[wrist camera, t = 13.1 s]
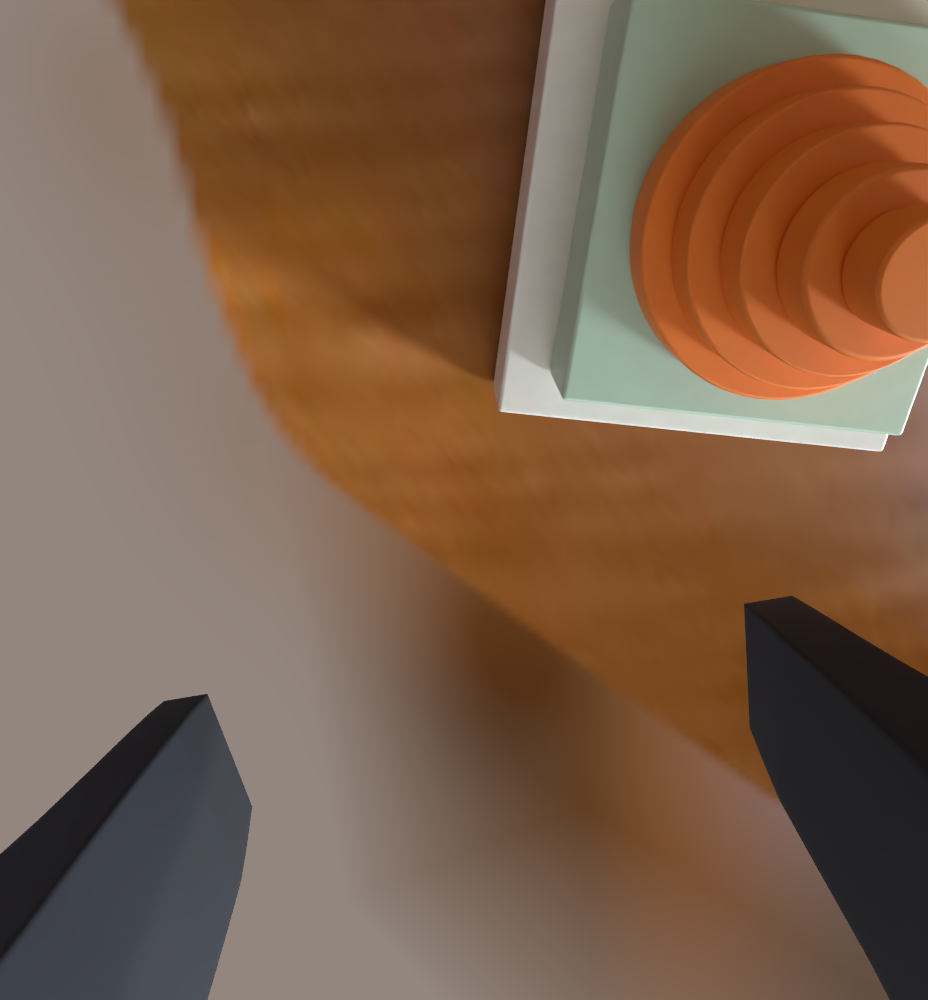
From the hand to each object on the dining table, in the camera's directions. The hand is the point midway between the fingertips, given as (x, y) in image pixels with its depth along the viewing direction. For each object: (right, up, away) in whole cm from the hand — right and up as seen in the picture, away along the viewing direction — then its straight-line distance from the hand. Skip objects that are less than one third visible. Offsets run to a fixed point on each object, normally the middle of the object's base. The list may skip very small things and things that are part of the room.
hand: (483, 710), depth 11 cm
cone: (+6, +8, +4) cm, 10 cm away
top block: (+5, +8, +6) cm, 11 cm away
